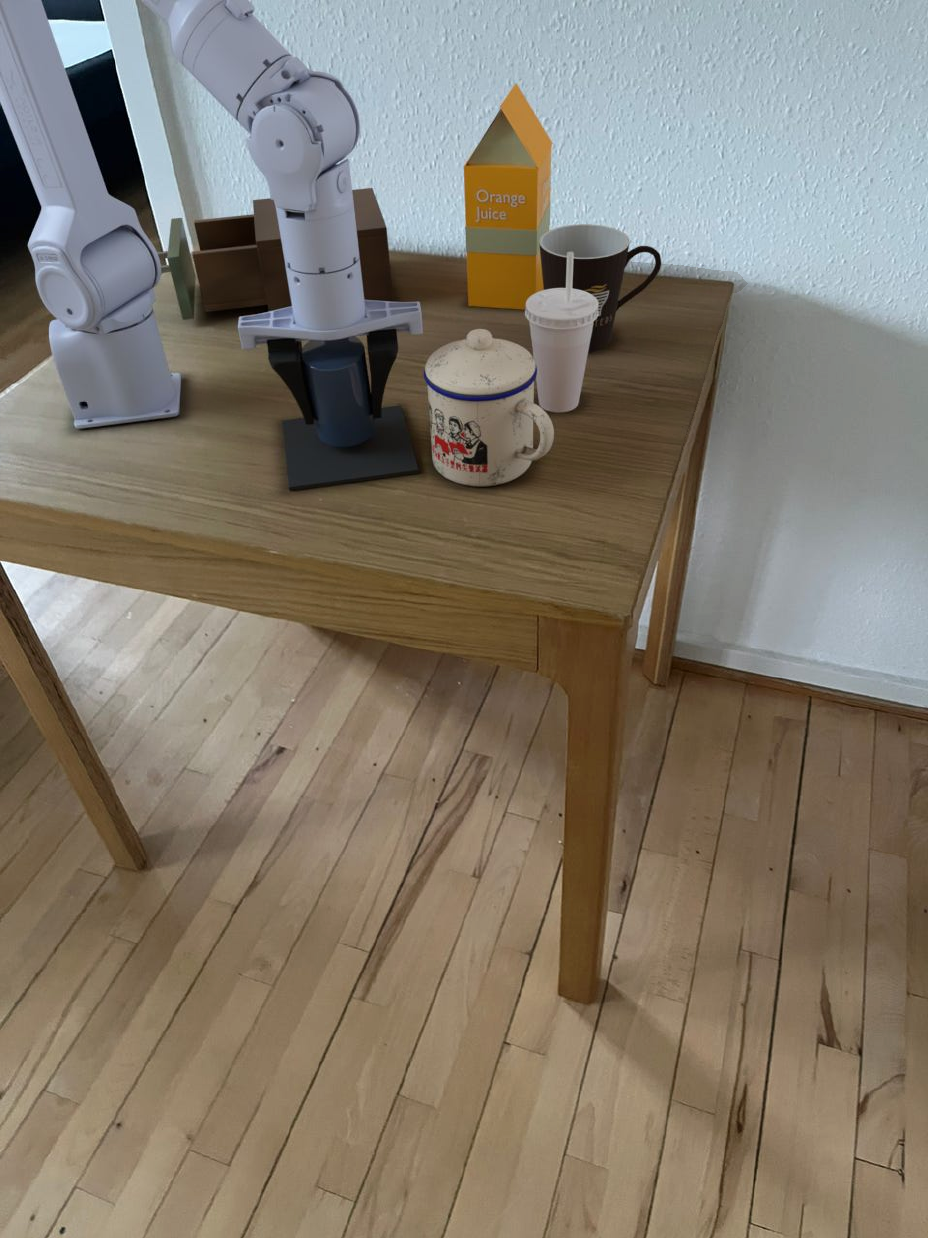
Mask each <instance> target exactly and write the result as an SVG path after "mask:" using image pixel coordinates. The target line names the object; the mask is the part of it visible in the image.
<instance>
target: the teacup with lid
mask: <svg viewBox="0 0 928 1238" xmlns="http://www.w3.org/2000/svg"><path fill="white" fill-rule="evenodd" d="M536 375H537V366H536V364H535V361H534V357H533V354H531V353H530V351H528V349H526V348H525V347H524V346H522V345H520V344H518V343H515V342H513V341H510V340H507V339H502V338H496V337H495V338H494V337H493V334H492V333H491V332H490V330H488V329H485V328H476V329H472V330H470V331H469V332H468V333H467V335H466V338H463V339H458V340H456V341H452V342H449V343H447V344H445V345H443V346H441V347H439V348H438V349H436V350H435V351H433V353H432V354H431V355H430V356H429V357H428V359H427V361H426V362H425V365H424V369H423V379H424V382H425V383H426V385H427V398H428V412H429V413H428V414H429V415H428V416H429V428H430V429H429V430H430V441H431V457H432V464H433V466H434V468H435V469H436V471H437V472H438V473H439V475H441V476H442V477H444V478H445V479H447V480H449V481H451V482H454V483H456V484H459V485H464V486H469V487H493V486H498V485H502V484H506V483H509V482H511V481H513V480H516V479H517V478H519V477H520V476H522V475H523V474H524V473H525V472H526V471H527V470H528V469H529V467H530V466H531V464H532V463H533V461H537V460H540V459H541V458H544V456H545V455H547V454H548V452H549V451H550V450H551V448H552V445H553V443H554V438H555V431H554V430H555V429H554V424H553V421H552V420H551V418H550V416H549V414H548V413H547V411H546V410H545V409H543V408H542V407H541V406H540V405H539V404H536V403H534V400H535V398H534V397H535V381H536ZM534 423H535V425H536V427H537V428H538V430H539V444H538V446H537V448H534Z"/></svg>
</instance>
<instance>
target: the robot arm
mask: <svg viewBox="0 0 928 1238" xmlns="http://www.w3.org/2000/svg"><path fill="white" fill-rule="evenodd" d="M140 1H141V2H142V3H143V4H144V5H145V6H146V7H147V8H148V9H149V10H150V11H151V12H152V13H154V14H155V15H156V16H157V17H158V18H159V19H160V20H161V21H162V22H163V23H165V25H167V26H168V27H169V30H170V38H171V46H172V52H173V55H174V57H175V59H176V60H177V61H178V62H179V63H180V64H181V65H182V66H183V67H184V68H185V69H186V70H187V71H188V72H189V73H190V74H191V75H192V76H193V78H195V80H197V82H198V83H200V84H201V86H203V88H204V89H206V91H207V92H208V93H209V94H210V95H211V96H212V97H213V98H214V99H215V100H216V101H217V102H218V103H219V104H220V105H221V106H222V107H223V108H224V109H225V110H226V111H227V112H228V114H230V115H231V117H233V119H234V120H236V121H237V122H238V123H239V124H240V126H242V128H243V129H244V130H245V132H247V133H249V134H250V135H249V136H247V137H245V142H246V147H247V151H248V153H249V155H250V157H251V160H252V161H253V163H254V165H255V166H256V167H257V169H258V170H259V172H261V174H262V175H263V177H264V178H265V181H266V183H267V187H268V191H269V198H271V200H274V202H275V206H276V212H277V218H278V224H279V230H280V236H281V242H282V248H283V254H284V260H285V267H286V273H287V279H288V285H289V291H290V297H291V303H292V306H291V307H287V308H282V309H278V310H274V311H270V312H269V311H267V312H262V313H257V314H249V315H243V316H239V317H238V323H237V330H238V335H239V340H240V345H241V349H242V350H252V349H256V347H257V346H258V345H266V347H267V353H268V354H267V360H268V363H269V364H270V366H271V368H272V370H273V371H274V372H275V373H276V374H277V375H278V377H279V378H280V379H281V380H282V382H283V383H284V385H285V386H286V387H287V388H288V390H289V391H290V393H291V394H292V396H293V399H294V400H295V402H296V403H297V406H298V408H299V410H300V412H301V414H302V418H304V420H305V424H306V425H311V424H314V416H313V411H312V406H311V402H310V397H309V393H308V388H307V383H306V378H305V373H304V369H303V364H302V359H301V351H302V349H303V344H302V343H303V341H310V340H323V341H324V340H337V339H342V338H347V337H351V336H355V337H362V336H366V346H367V356H368V362H369V363H368V365H369V372H370V373H369V374H370V390H371V397H372V411H373V419H377V418H381V417H382V416H381V409H382V408H383V400H384V395H385V394H384V393H385V388H386V385H387V383H388V382H387V381H388V378H389V376H390V373H391V370H392V368H393V366H394V363H395V362H396V360H397V355H398V353H399V341H398V333H408V334H409V335H411V336H416V335H423V334H424V330H423V318H422V316H423V315H422V309H421V302H420V301H404V302H403V301H393V302H390V301H376V300H364V292H363V283H362V275H361V266H360V257H359V248H358V239H357V230H356V221H355V212H354V202H353V194H352V190H353V186H352V177H351V176H352V175H351V168H350V160H349V159H348V158H347V157H348V156H349V155H350V154H351V153H352V152H353V150H354V149H355V148H356V145H357V144H358V141H359V138H360V132H361V123H360V115H359V111H358V108H357V106H356V104H355V102H354V99H353V98H352V96H351V95H350V93H349V92H348V90H347V89H346V88H345V86H344V84H343V83H342V80H340V79H339V78H338V77H336V76H334V75H333V74H331V73H328V72H324V71H317V70H316V71H315V70H312V69H310V68H309V67H307V65H306V64H305V63H303V61H302V60H301V59H300V58H299V57H298V56H293V55H292V54H291V53H290V52H289V51H288V50H287V49H286V48H285V47H284V46H283V45H282V43H280V41H279V40H278V39H277V38H276V37H275V36H274V35H273V34H272V33H271V32H270V30H269V29H267V28H266V27H265V26H264V24H262V22H261V21H260V20H259V19H258V18H257V16H255V15H254V12H255V10H256V7H255V6H254V5H253V4H252V3H251V1H249V0H140ZM0 105H1V107H2V110H3V112H4V115H5V117H6V120H7V123H8V125H9V129H10V131H11V133H12V136H13V138H14V140H15V143H16V145H17V148H18V151H19V154H20V156H21V159H22V161H23V163H24V165H25V169H26V171H27V174H28V176H29V178H30V181H31V184H32V186H33V189H34V191H35V194H36V196H37V199H38V201H39V204H40V206H41V210H40V211H39V215H38V218H37V220H36V222H35V225H34V228H33V229H32V232H31V235H30V237H29V240H28V242H27V248H28V251H29V253H30V255H31V259H32V261H33V265H34V270H35V271H34V272H35V273H34V276H35V278H34V279H35V285H36V289H37V292H38V294H39V298H40V299H41V301H42V303H43V305H44V306H45V308H46V309H47V310H48V311H49V313H50V314H51V315H52V316H53V317H54V318H55V319H52V320H51V321H50V322H49V325H48V326H49V327H48V338H49V339H48V340H49V344H50V345H49V346H50V351H51V355H52V360H53V363H54V366H55V370H56V372H57V374H58V377H59V380H60V383H61V386H62V388H63V391H64V394H65V397H66V401H67V402H68V406H69V408H70V411H71V414H72V417H73V419H74V421H73V424H74V427H75V429H87V428H94V427H95V428H96V427H103V426H104V427H105V426H111V425H120V424H127V423H136V422H142V421H150V420H151V421H152V420H159V419H166V418H174V417H177V416H178V415H180V405H181V404H180V403H181V390H182V388H181V387H182V374H181V373H179V372H172V373H171V370H170V366H169V362H168V358H167V356H166V352H165V348H164V343H163V341H162V337H161V333H160V329H159V326H158V321H157V319H156V314H155V311H154V307H153V304H154V303H155V302H156V301H157V297H156V293H155V290H154V289H155V288H156V287H157V286H158V284H159V282H160V281H161V277H162V273H161V266H162V264H161V259H159V256H158V254H157V252H158V251H157V249H156V247H155V246H154V244H153V243H152V241H151V240H150V239H149V237H148V235H146V233H145V231H144V230H143V228H142V226H141V224H140V221H139V218H138V215H137V212H136V210H135V208H133V207H132V206H131V205H129V204H127V203H125V202H123V201H121V200H119V199H118V198H115V197H114V196H112V195H111V194H109V192H108V190H107V187H106V183H105V181H104V177H103V175H102V172H101V169H100V166H99V163H98V161H97V158H96V155H95V151H94V148H93V146H92V143H91V141H90V138H89V134H88V132H87V131H88V130H87V129H86V125H85V123H84V120H83V117H82V113H81V111H80V109H79V106H78V102H77V99H76V97H75V95H74V91H73V88H72V85H71V82H70V79H69V76H68V74H67V70H66V68H65V65H64V62H63V60H62V56H61V53H60V50H59V48H58V45H57V41H56V39H55V37H54V33H53V31H52V28H51V25H50V22H49V19H48V16H47V12H46V9H45V7H44V4H43V2H42V0H0Z"/></svg>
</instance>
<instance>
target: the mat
mask: <svg viewBox="0 0 928 1238" xmlns="http://www.w3.org/2000/svg"><path fill="white" fill-rule="evenodd" d="M381 416H382V417H381V418H377V419H375V430H374V432H373V434H372V435H371V436H370V437H369V438H368V439H367V440H365V441H364V442H362V443H360V444H357V445H354V446H349V447H336V446H331V445H328V444H326V443H325V442H323V441H322V440H321V439H320V438H319V437H318V435H317V431H316V426H315V422H314V424H311V425H306V424H305V420H304V417H299V418H291V419H284V420H282V430H283V431H282V432H283V441H284V442H283V443H284V452H285V462H286V473H287V482H288V483H287V484H288V491H290V492H293V491H299V490H307V489H313V488H314V489H315V488H321V487H330V486H336V485H343V484H350V483H358V482H365V481H373V480H379V479H387V478H394V477H400V476H401V477H402V476H409V475H417V474H419V473H420V469H419V465H418V461H417V458H416V455H415V451H414V448H413V445H412V441H411V437H410V434H409V433H410V432H409V430H408V426H407V422H406V419H405V415H404V412H403V408H402V405H400V404H398V405H392V406H385V407H384V406H382V409H381Z"/></svg>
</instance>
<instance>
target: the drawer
mask: <svg viewBox="0 0 928 1238" xmlns="http://www.w3.org/2000/svg"><path fill="white" fill-rule="evenodd" d="M193 225H194V229H195V233H196V239H197V242H198V247H199V250H195V251H192V254H191V251H190V246H189V242H188V238H187V232H186V230H185V229H186V228H185V225H184V220H183V217H176V218H171V219H170V227H169V238H168V245H167V246H168V248H167V250H165V251H164V250H163V251H157V254H158V256H159V259H160V260H162V259H167V263H168V264H164V265H161V274H165V273H170V275H171V280H172V284H173V287H174V292H175V295H176V299H177V303H178V307H179V311H180V315H181V319H182V321H185V320H193V319H194V318H195V299H196V297H195V296H196V277H197V281H198V285H199V290H200V294H201V299H202V302H203V307H204V311H205V312H206V313H208V312H209V313H210V312H217V311H225V310H234V309H242V308H251V307H260V306H268V305H267V299H266V294H265V288H264V283H263V277H262V272H261V267H260V261H259V256H258V250H257V245H256V236H255V223H254V213H252V214H242V215H233V216H223V217H213V218H205V219H203V218H202V219H194V220H193ZM193 263H194V264H193Z"/></svg>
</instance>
